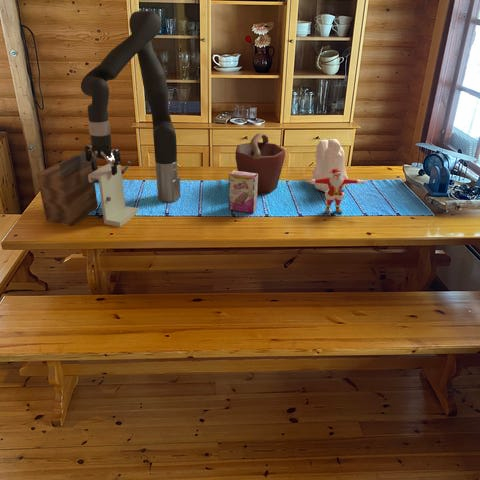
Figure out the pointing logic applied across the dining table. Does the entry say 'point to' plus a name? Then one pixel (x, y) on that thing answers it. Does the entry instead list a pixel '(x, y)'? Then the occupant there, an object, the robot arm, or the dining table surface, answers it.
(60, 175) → the cabinet
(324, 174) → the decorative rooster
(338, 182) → the santa figurine
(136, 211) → the white angled bracket
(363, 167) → the dining table surface
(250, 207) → the candy bar box
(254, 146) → the bucket
